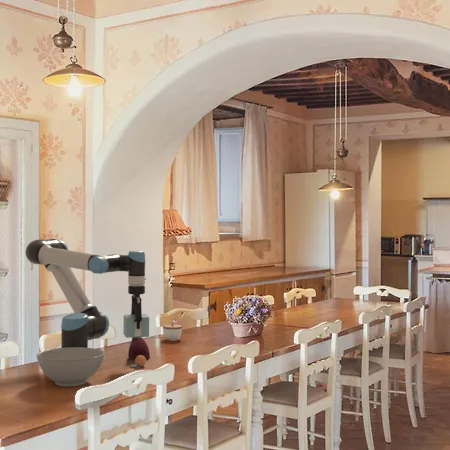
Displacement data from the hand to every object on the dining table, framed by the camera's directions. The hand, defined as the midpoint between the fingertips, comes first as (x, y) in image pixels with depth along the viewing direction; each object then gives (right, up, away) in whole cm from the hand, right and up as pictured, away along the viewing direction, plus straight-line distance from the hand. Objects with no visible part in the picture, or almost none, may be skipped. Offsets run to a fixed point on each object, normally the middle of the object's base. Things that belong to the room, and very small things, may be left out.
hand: (136, 334), depth 312 cm
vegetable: (-1, -15, +19) cm, 24 cm away
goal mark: (0, -15, 0) cm, 15 cm away
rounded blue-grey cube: (0, -1, 0) cm, 1 cm away
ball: (+2, -12, +1) cm, 12 cm away
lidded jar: (+11, -14, +69) cm, 72 cm away
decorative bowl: (-23, -15, -32) cm, 42 cm away
